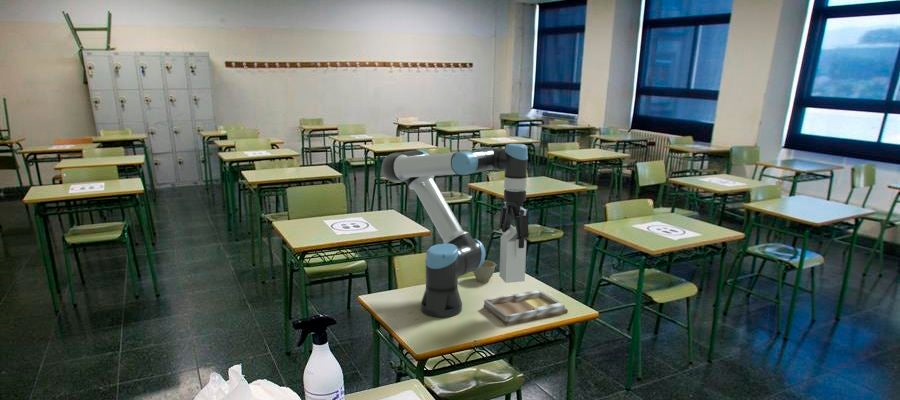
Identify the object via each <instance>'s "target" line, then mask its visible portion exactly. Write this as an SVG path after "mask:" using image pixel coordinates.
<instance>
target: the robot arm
mask: <svg viewBox="0 0 900 400" xmlns="http://www.w3.org/2000/svg"><path fill="white" fill-rule="evenodd" d="M528 152H529V151H528V146H527V145H526V144H523V143H508V144H506V145H505V147H504V148H497V147H496V148H495V147H491V146H483V147H482V146H480V147H478V148H477V149H474V150H465V151H464V150H463V151H456V152H455V151H454V152H446V153H445V152H444V153H434V154H430V153H428V152H426V151H425V150H421V149H419V150H417V149H413V150H409V151H408V150H407V151H399V152H392V153H390V154H388V155H387V156H385V157H384V159H383V161H382V163H381V172H382V175H383V176H384V178H385V179H386V180H388V181H389V182H391V183H403V182H405V183H406V185H407V186H408V189H410V190H413V191H415V193H416V195H417V196H418V199H419V200H420V202H421V205H422V206H423V207H424V209H425V211H426V213H427V214H428V216H429V218H430V220H431V221H432V222H431V223H432V224H433V225H434V227H435V229H436V230H437V233H438V234H439V236H440V237H441V239H442V241H443V243H438V244H437V243H436V244H434V245H432V246H430V247H429V248H428V249H427V250H426V252H425V253H426V254H425V260H424V261H425V290H424V292H423V295H422V298H421V302H420V311H421V312H423V314H425V315H428V316H430V317H434V318H447V317H448V318H449V317H454V316H456V315H458V314H460V313H461V312H462V310H463V302H462V299H461V295H460V292H459V287H458V283H459V282H458V281H459V279H458V278H459V277H461V276H465V275H466V274H468V273H471V272H472V273H473V271H475V270H476V269H478V268H479V267H481V266H482V264H483V263H484V260H485V258H486V249H485V247H484V244H483V243H482V242H481V241H480V240H478V239H477V238H472V235H471V234H470V232H468V231H465V230H463V228H462V227H461V224H460V223H459V221H458V220H457V217H456V216H455V215H454V212H453V211H452V208H450V205H449V204H448V202H447V201H446V199H445V196H444V195H443V193H442V192H441V191H440V189H439V187H438V184H436V182H435V180H434V178H435V177H437V176H450V175H451V176H453V175H461V176H466V175H467V176H468V175H471V174H475V173H481V172H485V171H492V170H493V171H494V170H495V171H502V172H504V178H503V179H504V181H503V182H504V184H503V188H504V191H503V200H504V201H502V202H501V210H500V218H499V225H498V226H499V227H498V228H499V229H501V231H502V235H503V234H504V233H505V232H506V231H507V230H508V229H509V228H510V225H512V222H513V220H514V224H515V225H514V226H515V228H516V231H517V236H518V238H516V254H515V257H522V256H523V250H524V239H525V240H526V239H529V236H530V235H529V220H528V219H529V218H528V217H529V209H528V208H524V205H523V204H524V202H525V201H527V200H526V199H527V191H526V189H527V175H528V174H527V169H528V160H529V156H528ZM485 261H486V260H485Z"/></svg>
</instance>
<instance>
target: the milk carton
mask: <svg viewBox="0 0 900 400" xmlns="http://www.w3.org/2000/svg"><path fill="white" fill-rule="evenodd" d="M516 238H518V236H517V231H516V227H514V226H513V225H512V224H511V225H510V228H509V229H508V230H507V231H506V232H505V233H504V234H503V233H502V234H501V235H500V244H499V245H500V249H499V250H500V251H499V277H500V278H501V279H502V280H503V282H504V283H508V284H509V283H517V282H520V283H521V282H526V281H525V280H526V262H527V261H526V260H527V259H526V257H527V240H526V238H525V239H524V250H523V256H522V257H515V254H516Z"/></svg>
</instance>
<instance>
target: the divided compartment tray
mask: <svg viewBox="0 0 900 400" xmlns="http://www.w3.org/2000/svg"><path fill="white" fill-rule="evenodd" d="M565 306H566V305H565V304H563V303H562V302H561V301H559V300H558V299H556V298H555V297H552V296H550V295H549V294H547V293H546V292H544V291H542V290H540V289H536V290H535V289H534V290H529V291H525V292H519V293H514V294H507V295H502V296H498V297H497V296H496V297H491V298H486V299H484V303H483V309H484V310H486V311H487V312H488V313H489V314H491V315H492V316H493V317H494V318H496V319H497V320H498V321H499V322H500V323H503V325H505V326H510V325H514V324H515V325H516V324H521V323H524V322H525V323H526V322H529V321H530V322H531V321H535V320H539V319H543V318H549V317H553V316H558V315H563V314H568V313H569V312H568V311H569V310H568V309H567V308H566V307H565Z"/></svg>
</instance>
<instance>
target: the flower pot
mask: <svg viewBox="0 0 900 400" xmlns="http://www.w3.org/2000/svg"><path fill="white" fill-rule="evenodd" d="M495 268H496V263H495V262H493V261H490V260H484V263H483V264H482V266H481V267H479V268H478V269H476V270H475V271H472V273H473V275H474V277H475V279H476V281H477V282H480V283H486V282H489V281H490V280H491V278H492V276H493V274H494V272H495Z"/></svg>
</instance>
